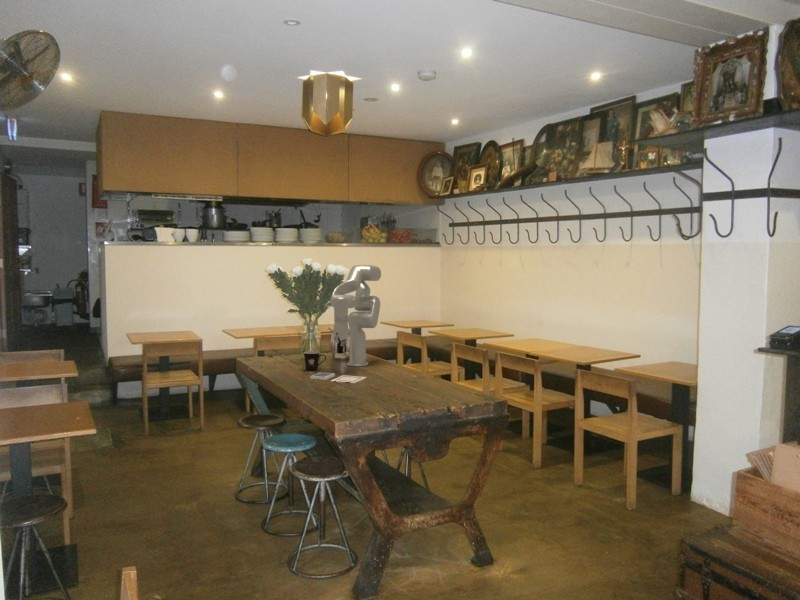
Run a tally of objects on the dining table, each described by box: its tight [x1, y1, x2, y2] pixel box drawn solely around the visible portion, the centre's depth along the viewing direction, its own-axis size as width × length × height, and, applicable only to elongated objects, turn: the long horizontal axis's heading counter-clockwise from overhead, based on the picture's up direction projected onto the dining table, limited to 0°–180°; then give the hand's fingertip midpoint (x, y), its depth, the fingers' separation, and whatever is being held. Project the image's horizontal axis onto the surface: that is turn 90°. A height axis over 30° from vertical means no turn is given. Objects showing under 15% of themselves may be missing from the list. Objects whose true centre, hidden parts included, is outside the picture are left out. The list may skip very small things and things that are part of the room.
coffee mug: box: [303, 350, 327, 372], centre depth 350 cm, size 12×9×10 cm
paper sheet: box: [330, 374, 368, 384], centre depth 326 cm, size 15×14×1 cm
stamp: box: [334, 339, 350, 360], centre depth 339 cm, size 6×5×12 cm
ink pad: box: [309, 372, 336, 381], centre depth 330 cm, size 11×9×2 cm
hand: (341, 352), depth 340 cm, fingers closed on stamp, 3 cm apart
